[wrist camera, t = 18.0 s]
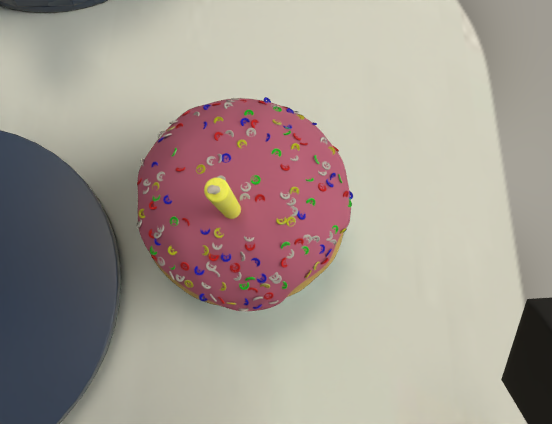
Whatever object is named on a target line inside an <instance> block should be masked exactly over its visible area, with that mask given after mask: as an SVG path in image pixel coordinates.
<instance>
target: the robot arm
mask: <svg viewBox="0 0 552 424" xmlns="http://www.w3.org/2000/svg"><path fill="white" fill-rule="evenodd" d="M502 381H503V383H504V385H505V386H506V388H507V390H508V392H509V393H510V395H511V397H512V398H513V400H514V402H515V403H516V405H517V407H518V408H519V410H520V412H521V413H522V415H523V417H524V418H525V420H526V422H527V423H528V424H552V298H539V299H538V298H537V299H527V301H526V304H525V307H524V310H523V314H522V317H521V320H520V323H519V326H518V329H517V332H516V336H515V339H514V342H513V345H512V348H511V351H510V354H509V358H508V361H507V364H506V367H505V370H504V373H503V376H502Z"/></svg>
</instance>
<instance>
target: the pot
mask: <svg viewBox="0 0 552 424" xmlns="http://www.w3.org/2000/svg"><path fill="white" fill-rule="evenodd" d="M105 1H108V0H0V6H2V7H6V8H10V9H13V10H20V11H27V12H43V13H52V12H65V11H72V10H77V9H82V8H87V7H90V6H93V5H97V4H100V3H103V2H105Z"/></svg>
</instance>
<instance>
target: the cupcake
mask: <svg viewBox="0 0 552 424" xmlns="http://www.w3.org/2000/svg"><path fill="white" fill-rule="evenodd" d="M266 100H267V101H266ZM268 101H269V102H268ZM297 113H299V112H298V111H293V110H292V109H290V108H288V107H283V106H280V105H277V104H274V103H271V101H270V100H269V99H268V98H267V97H265V98H264V101H261V100H254V99H243V98H231V99H226V100H221V101H217V102H213V103H209V104H206V105H202V106H198V107H195V108H192V109H190V110H188V111H186V112H185V113H183V114H182V115H181V116H180V117H179V118H178V119H177V120H176V121H173V122H170V124H172V123H173V124H172V125H171V126H170V127H169V128H168V129H167V130H166V131H161V132H160V133H159V134H158V138H159V139H158V140H157V142H156V143H155V144H154V146H153V147H152V148H151V150H150V151H149V153H148V154H147V156H146V158H145V159H141V164H142V165H141V167H140V170H139V174H138V182H137V185H138V223H137V228H139V232H140V235H141V238H142V240H143V242H144V244H145V246H146V248H147V249H148V251H149V252H150V254H151V257H152V258H153V260H154V261H155V263H156V264H157V266H158V267H159V268H160V270H161V271H162V272H163V273H164V274H165V275H166V276H167V277H168V278H169V279H170V280H171V281H172V282H173V283H175V284H176V285H177V286H178V287H180V288H181V289H182V290H184V291H185V292H186V293H188V294H189V295H191V296H193V297H195V298H197V299H199V300H201V301H205V302H207V303H210V304H214V305H220V306H223V307H226V308H229V309H232V310H236V311H257V310H263V309H267V308H271V307H274V306H276V305H278V304H280V303H281V302H282V301H283V300H284V299H285V298H286V297H288V296H291V295H293V294H295V293H297V292H299V291H301V290H302V289H304V288H305V287H306V286H307V285H308V284H310V283H311V282H312V281H313V280H314V279H315V278H316V277H317V276H319V275H320V274H321V273H322V272H323V271H324V270H325V269H326V268H327V267H328V266H329V265H330V264H331V262H332V261H333V259H334V258H335V256H336V254H337V252H338V249H339V247H340V244H341V241H342V237H343V233H344V232H345V231H346V227H347V226H348V224H349V221H350V214H351V206H352V203H351V200H350V199H352V198H353V194H352V193H351V192H350V191H349V187H348V182H347V176H346V171H345V167H344V164H343V161H342V159H341V157H340V155H339V154H338V151H339V150H338V149H337V148H335V147H334V146H332V144H331V143H330V142H329V141H328V139H327V138H326V137H325V136H324V134H323V133H322V132H321V131H320V130H319V129H318V128H317V127H316V126H315V125H317V123H312V122H310V121H309V120H308V119H306V118H305V117H304V116H303V115H300V114H297ZM162 133H163V134H162ZM160 135H161V137H160ZM350 195H351V197H350Z"/></svg>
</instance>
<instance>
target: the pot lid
mask: <svg viewBox="0 0 552 424" xmlns="http://www.w3.org/2000/svg"><path fill="white" fill-rule="evenodd" d="M120 289H121V275H120V260H119V255H118V249H117V244H116V239H115V236H114V233H113V230H112V227H111V225H110V222H109V219H108V217H107V215H106V213H105V211H104V209H103V207H102V205H101V203H100V201H99V200H98V198H97V197H96V196H95V194H94V193H93V191H92V190H91V189H90V187H89V186H88V184H87V183H86V182H85V181H84V180H83V179H82V178H81V177H80V176H79V175H78V174H77V173H76V172H75V171H74V170H73V169H72V168H71V167H70V166H69V165H68V164H67V163H65V162H64V161H63V160H61V159H60V158H59V157H58V156H56V155H55V154H54V153H52V152H50V151H49V150H47V149H45V148H44V147H42V146H40V145H39V144H37V143H35V142H32V141H30V140H28V139H25V138H23V137H20V136H18V135H15V134H11V133H8V132H4V131H0V424H59V423H60V422H61V421H62V420H63V419H64V418H65V417H66V416H67V415H68V413H69V412H70V411H71V410H72V408H73V407H74V406H75V405H76V404H77V402H78V401H79V400H80V399H81V397H82V396H83V394H84V393H85V391H86V389H87V388H88V386H89V385H90V383H91V382H92V380H93V379H94V377H95V375H96V373H97V371H98V369H99V367H100V365H101V363H102V361H103V359H104V357H105V355H106V352H107V349H108V346H109V343H110V341H111V338H112V335H113V332H114V328H115V323H116V319H117V314H118V309H119V301H120Z"/></svg>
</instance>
